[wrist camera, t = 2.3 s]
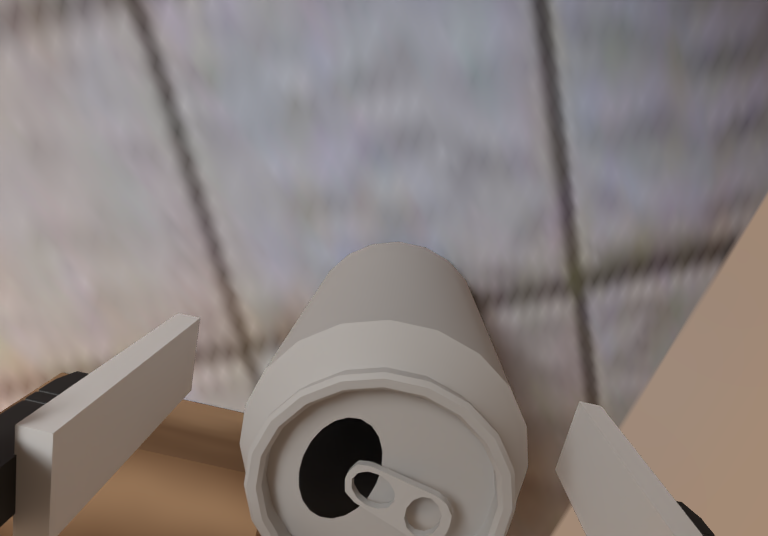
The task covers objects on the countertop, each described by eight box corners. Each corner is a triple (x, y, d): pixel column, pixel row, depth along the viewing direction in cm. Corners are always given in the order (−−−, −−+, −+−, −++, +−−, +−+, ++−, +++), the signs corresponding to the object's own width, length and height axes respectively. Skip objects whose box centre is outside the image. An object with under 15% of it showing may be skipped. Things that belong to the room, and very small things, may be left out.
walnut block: (61, 372, 24) (-7, 416, 20) (289, 423, 24) (265, 477, 20) (56, 555, 27) (-4, 623, 23) (257, 599, 27) (231, 676, 23)
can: (347, 213, 21) (267, 296, 9) (501, 273, 21) (612, 426, 9) (296, 354, 23) (176, 571, 11) (437, 407, 23) (465, 672, 11)
